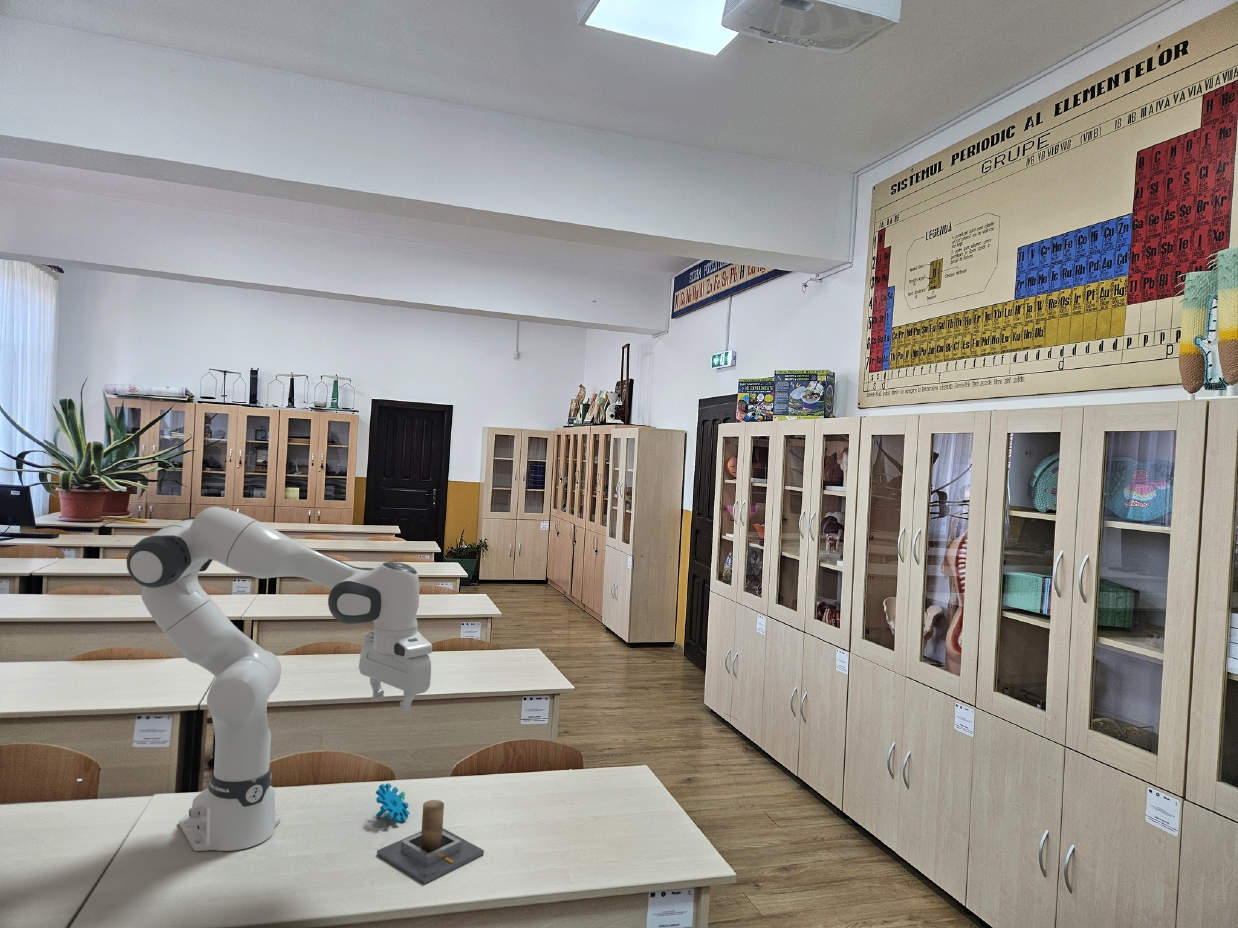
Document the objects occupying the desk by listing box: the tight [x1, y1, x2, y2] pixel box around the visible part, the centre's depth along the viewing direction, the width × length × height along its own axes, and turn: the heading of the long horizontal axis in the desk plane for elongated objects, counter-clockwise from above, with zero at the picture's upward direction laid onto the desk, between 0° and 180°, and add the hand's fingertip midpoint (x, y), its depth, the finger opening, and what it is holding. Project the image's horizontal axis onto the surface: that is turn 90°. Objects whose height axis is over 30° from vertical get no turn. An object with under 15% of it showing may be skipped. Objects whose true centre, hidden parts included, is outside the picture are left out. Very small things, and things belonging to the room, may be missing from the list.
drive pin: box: [420, 799, 445, 853], centre depth 168 cm, size 4×4×10 cm
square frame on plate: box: [376, 827, 485, 885], centre depth 168 cm, size 16×16×3 cm
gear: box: [375, 783, 410, 824], centre depth 184 cm, size 11×6×10 cm
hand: (391, 704), depth 165 cm, fingers open, 8 cm apart
